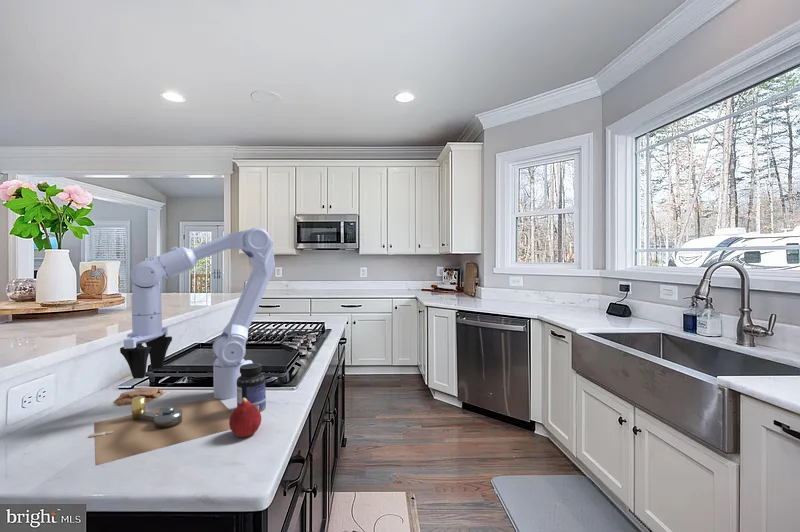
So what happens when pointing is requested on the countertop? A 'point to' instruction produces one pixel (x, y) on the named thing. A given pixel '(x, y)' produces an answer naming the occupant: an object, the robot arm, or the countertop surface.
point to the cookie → (138, 395)
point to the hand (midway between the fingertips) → (148, 372)
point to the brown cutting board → (158, 430)
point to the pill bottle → (252, 385)
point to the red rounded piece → (245, 419)
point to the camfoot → (161, 418)
